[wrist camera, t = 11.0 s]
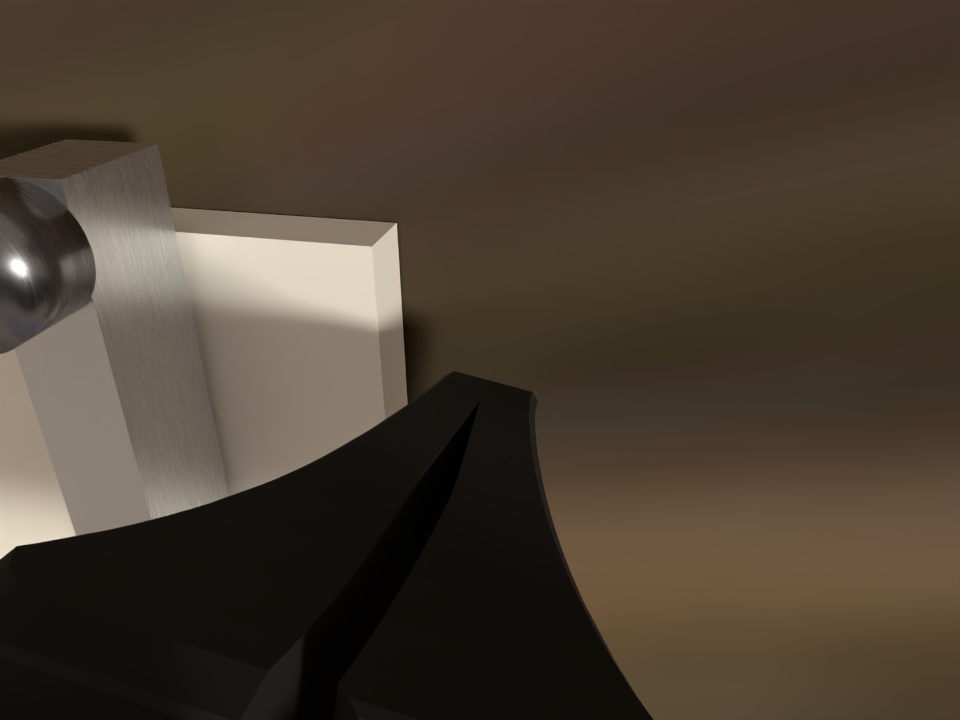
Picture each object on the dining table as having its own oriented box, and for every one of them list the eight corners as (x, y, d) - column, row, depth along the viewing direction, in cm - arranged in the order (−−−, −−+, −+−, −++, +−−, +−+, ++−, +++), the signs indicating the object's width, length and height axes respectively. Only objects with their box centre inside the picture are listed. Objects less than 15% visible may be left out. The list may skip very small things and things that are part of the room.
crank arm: (309, 702, 17) (236, 851, 14) (167, 672, 18) (70, 808, 15) (217, 147, 11) (63, 212, 9) (11, 136, 12) (-194, 193, 9)
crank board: (431, 801, 20) (414, 858, 19) (-10, 700, 23) (-51, 744, 22) (396, 223, 13) (365, 253, 12) (-250, 178, 16) (-333, 198, 14)
